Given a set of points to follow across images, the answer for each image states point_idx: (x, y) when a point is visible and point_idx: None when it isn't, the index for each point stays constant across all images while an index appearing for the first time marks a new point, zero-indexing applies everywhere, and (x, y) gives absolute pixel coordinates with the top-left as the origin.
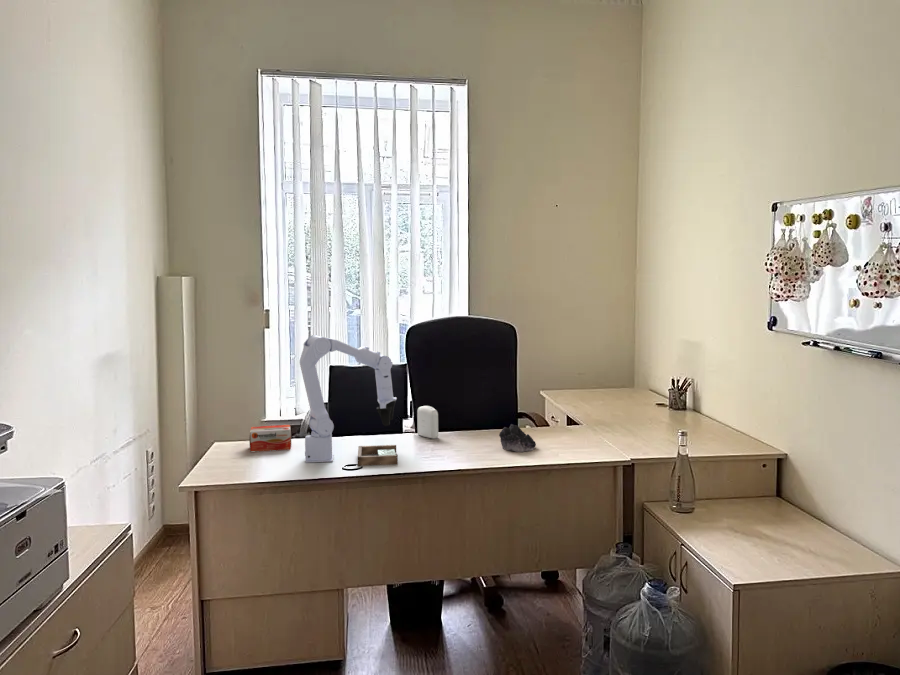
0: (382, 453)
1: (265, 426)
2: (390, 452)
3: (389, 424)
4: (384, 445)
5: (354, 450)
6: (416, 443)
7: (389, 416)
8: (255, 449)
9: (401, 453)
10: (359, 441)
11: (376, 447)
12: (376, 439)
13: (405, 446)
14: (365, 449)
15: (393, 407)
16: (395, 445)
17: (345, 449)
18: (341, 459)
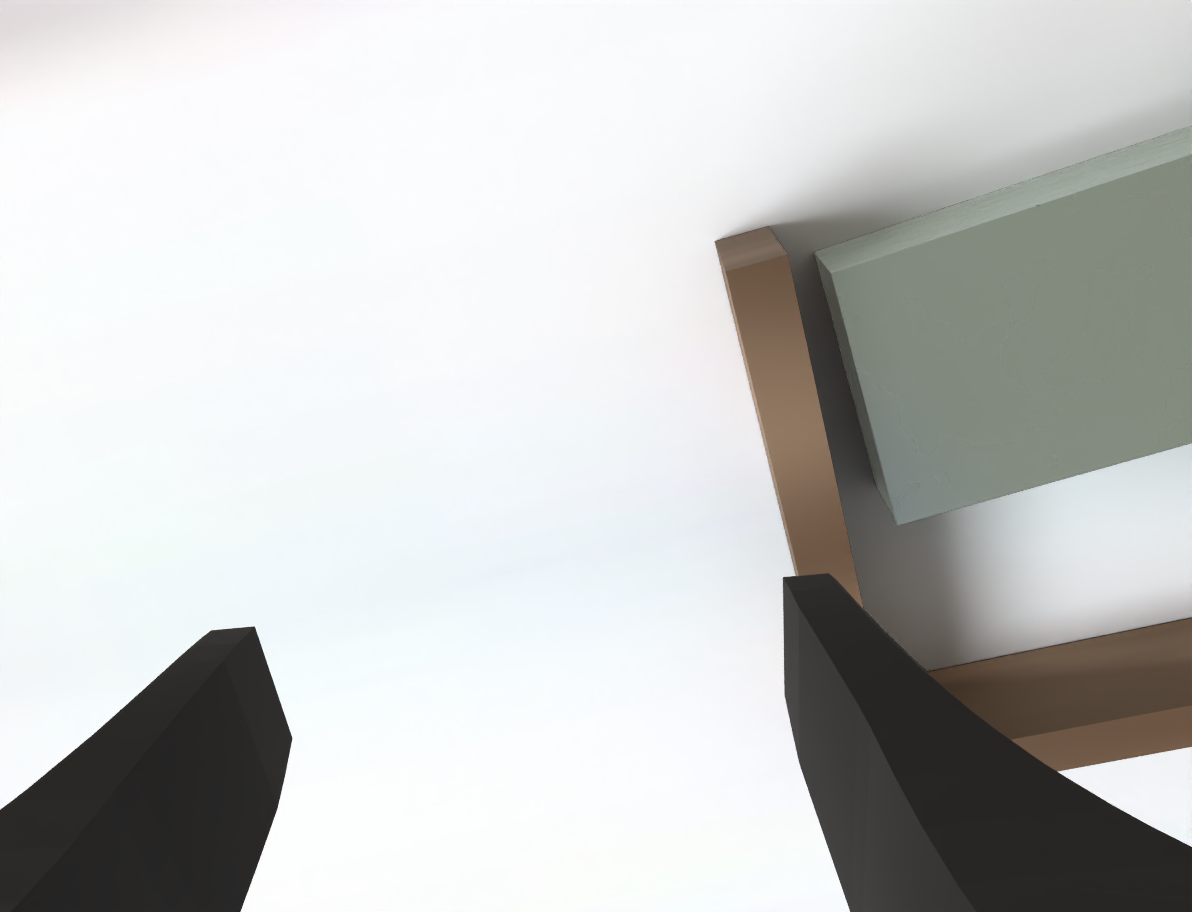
0: (1146, 394)
1: None
2: (1089, 274)
3: (800, 582)
4: (789, 464)
5: (648, 810)
6: (3, 33)
7: (989, 729)
8: None
9: (736, 142)
10: None
11: (851, 563)
12: (19, 697)
13: (267, 187)
14: None
15: (33, 893)
16: (773, 272)
17: (616, 905)
18: None
